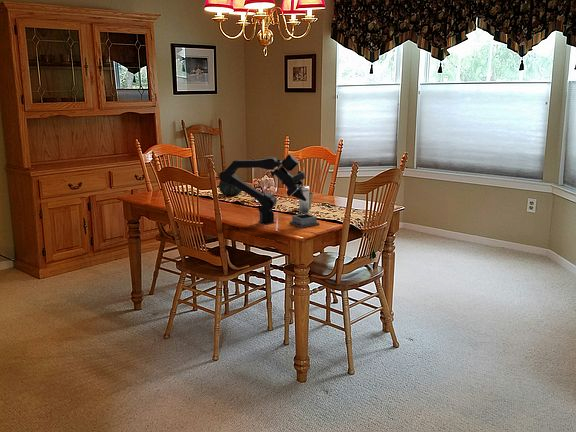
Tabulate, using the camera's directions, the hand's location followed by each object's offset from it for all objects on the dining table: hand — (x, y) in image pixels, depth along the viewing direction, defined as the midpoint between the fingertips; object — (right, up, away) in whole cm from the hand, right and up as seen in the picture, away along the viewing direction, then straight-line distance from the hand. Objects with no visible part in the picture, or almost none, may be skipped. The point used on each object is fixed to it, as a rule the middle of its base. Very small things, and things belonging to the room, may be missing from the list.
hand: (306, 199), depth 293 cm
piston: (-1, -6, +2) cm, 7 cm away
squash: (-46, +5, +79) cm, 92 cm away
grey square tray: (-1, -12, +3) cm, 13 cm away
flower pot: (0, -4, +39) cm, 39 cm away
